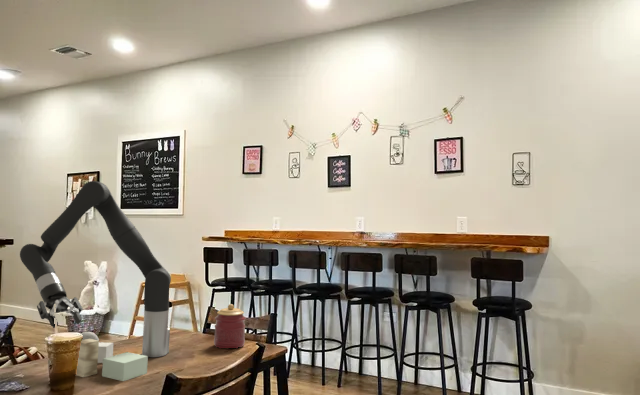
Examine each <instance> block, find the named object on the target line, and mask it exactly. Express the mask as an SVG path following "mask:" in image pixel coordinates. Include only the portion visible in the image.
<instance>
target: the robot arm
mask: <svg viewBox="0 0 640 395" xmlns="http://www.w3.org/2000/svg"><path fill="white" fill-rule="evenodd" d="M92 208H94V209H95V210H96V211H97V212H98V213H99V215H100V216H101V217H102V219H103V220H104V222H105V224H106V228H107V229H108V232H109V234H110V236H111V238H112V239H113V241H114V243H115V244H116V245H117V247H118V248H119V249H120V251H121V252H123V254H124V255H125V256H126V257H127V258H129V260H131V261H132V263H134V264H135V266H137V268H138V269H139V270H140V272H141V273H142V275H143V276H144V290H143V292H144V293H143V298H144V299H143V303H144V310H143V311H144V312H143V330H142V331H143V332H142V346H141V347H142V350H141V355H144V356H148V358H158V357H159V358H160V357H164V356H166V355H167V354H169V353H170V337H171V336H170V335H171V329H170V328H169V320H170V319H169V313H170V312H169V311H170V284H171V282H172V277H171V274H170V273H169V272H168V270H167V269H166V268H165V267H164V266H163V265H162V264H161V263H160V261H159V260H158V259H157V258H156V257H155V255H154V254H153V252H152V251H151V249H150V247H149V245H148V244H147V243H146V241H145V239H144V237H143V236H142V235H141V233H140V231H139V230H138V229H137V228H136V226H135V225H134V224H133V222H132V220H130V219H129V217H128V216H127V215H126V214H125V213H124V211H123V210H122V209H121V208H120V206H119V204H118V203H117V200H116V199H115V197H114V196H113V194H112V193H111V190H110V188H109V187H108V186H107V185H106V184H105V183H103V182H101V181H100V182H99V181H95V180H92V181H87V182H86V183H84V184H83V185H82V186H81V188H80V189H79V191H78V192H77V194H76V196H75V197H74V199H73V200H71V202H70V204H69V205H68V206H67V207H66V208H65V209H64V210H63V212H62V213H61V214H60V215H59V216H57V218H56V219H55V220H54V221H53V222H52V223H51V224H50V225H49V226H48V227H47V228H46V229H45V230H44V231H43V232H42V234H41V235H40V239H41V241H42V242H43V243H42V245H41V246H40V245H37V244H33V243H28V244H25V245H24V246H22V247H21V249H20V251H19V258H20V260H21V263H22V264H23V265H24V266H25V267H26V269H27V270H28V271H29V272H30V273H31V275H32V277H33V279H34V281H35V284H36V287H37V290H38V292H39V294H40V296H41V299H42V300H41V301H40V300H39V303H38V304H37V305H36V310H37V311H38V314H39V318H40V319H41V320H45V319H46V320H47V321H48V322H49V324H50V326H51V327H52V328H53V329H56V328H55V324H54V318H56V316H55V314H58V313H66V314H70V315H71V316H72V317H73V319H74V322H75V324H76V325H79V324H80V323H81V322H82V316H81V315H80V313H82V311H83V309H84V308H83V306H82V304H81V303H80V301H79V299H78V298H77V297H76V296H75V297H73V298H70V299H69V298H68V296H67V291H66V290H65V288H64V285H63V282H62V281H61V280H60V277H59V276H58V275H57V273H56V270H55V269H54V267H53V265H52V264H51V263H49V261H50V260H51V258H52V257H53V255H54V254H55V252H56V250H57V248H58V247H59V245H60V244H61V243H62V242H63V241H64V240H65V238H67V236H68V235H69V234H70V233H72V231H73V230H74V228H75V226H76V225H77V223H78V222H79V221H80V219H81V218H82V217H83V216H84V215H85V214H86V213H87V212H88V211H89V210H91V209H92ZM54 304H56V307H55V308H56V312H54ZM47 308H48V310H49V311H48V310H47ZM58 326H59V323H58V321H57V327H58Z"/></svg>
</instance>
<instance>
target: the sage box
mask: <svg viewBox="0 0 640 395" xmlns="http://www.w3.org/2000/svg"><path fill="white" fill-rule="evenodd" d="M148 358H149V357H148V356H144V355H142V354H138V353H133V352H128V351H126V352H123V353H119V354H115V355H114V354H113V356H111V357H107V358H104V359H103V363H102V370H101V376H102V377H103V378H109V379H113V380H117V381H121V382H125V381H128V380H131V379H134V378H137V377H141V376H143V375H144V376H145V375H146V374H148Z"/></svg>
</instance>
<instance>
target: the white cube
mask: <svg viewBox="0 0 640 395" xmlns="http://www.w3.org/2000/svg"><path fill="white" fill-rule="evenodd" d="M111 356H114V342H103V341H101V342H100V341H99V347H98V364H103V359H104V358H107V357H111Z"/></svg>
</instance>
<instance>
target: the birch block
mask: <svg viewBox="0 0 640 395" xmlns="http://www.w3.org/2000/svg"><path fill="white" fill-rule="evenodd" d="M99 342H100V340H99V341H98V340H94V339H85V340H82V341H81V346H80V351H79V358H78V366H77V375H76V377H81V378H87V377H89V376H92V375H96V374H98V365H99V363H98V347H99Z"/></svg>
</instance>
